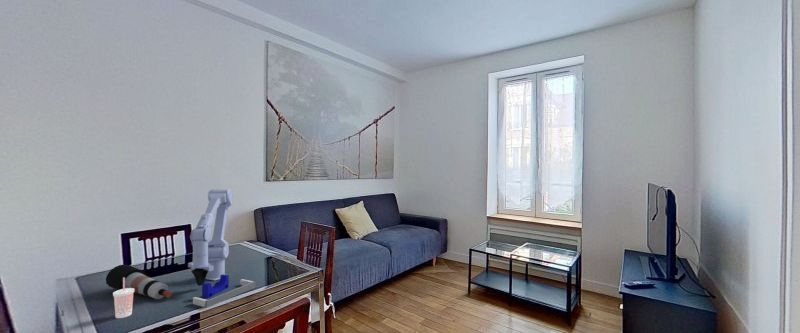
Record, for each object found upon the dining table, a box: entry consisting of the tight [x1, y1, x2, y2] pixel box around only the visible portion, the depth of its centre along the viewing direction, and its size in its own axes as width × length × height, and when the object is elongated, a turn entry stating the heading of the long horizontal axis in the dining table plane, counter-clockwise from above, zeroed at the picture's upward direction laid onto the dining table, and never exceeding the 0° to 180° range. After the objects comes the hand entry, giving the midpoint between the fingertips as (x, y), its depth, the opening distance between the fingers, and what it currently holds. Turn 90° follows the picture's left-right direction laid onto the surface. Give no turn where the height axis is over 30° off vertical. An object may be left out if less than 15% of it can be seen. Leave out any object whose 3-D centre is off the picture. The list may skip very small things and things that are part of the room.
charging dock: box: [192, 279, 257, 309], centre depth 135 cm, size 8×23×2 cm, turn 156°
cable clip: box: [201, 273, 230, 299], centre depth 138 cm, size 12×4×6 cm, turn 170°
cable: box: [105, 264, 173, 300], centre depth 136 cm, size 10×34×10 cm, turn 66°
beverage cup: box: [112, 277, 135, 319], centre depth 117 cm, size 6×6×14 cm
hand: (200, 284), depth 142 cm, fingers closed
